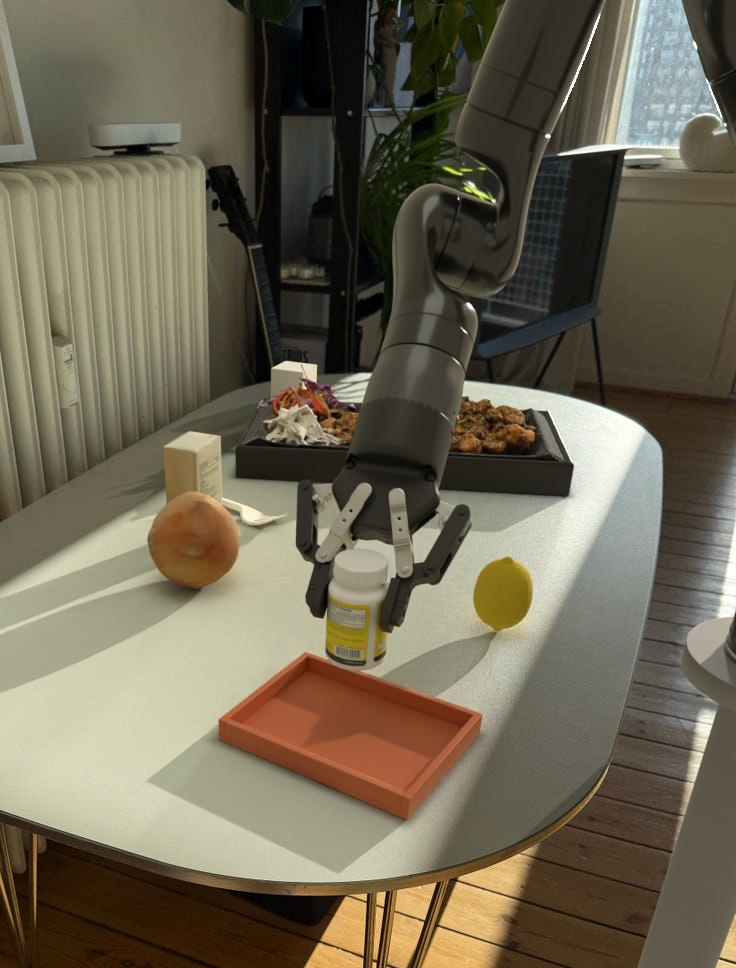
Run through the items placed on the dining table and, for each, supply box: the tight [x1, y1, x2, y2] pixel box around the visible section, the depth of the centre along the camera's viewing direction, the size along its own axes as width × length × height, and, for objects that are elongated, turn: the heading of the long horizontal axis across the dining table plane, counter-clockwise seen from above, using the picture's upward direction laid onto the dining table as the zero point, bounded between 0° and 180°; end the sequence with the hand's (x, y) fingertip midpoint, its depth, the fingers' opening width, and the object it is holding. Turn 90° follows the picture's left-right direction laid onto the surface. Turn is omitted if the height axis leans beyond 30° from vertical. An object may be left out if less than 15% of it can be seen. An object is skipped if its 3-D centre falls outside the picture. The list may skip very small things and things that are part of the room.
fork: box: [222, 496, 288, 526], centre depth 119 cm, size 3×20×2 cm, turn 44°
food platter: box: [234, 364, 575, 497], centre depth 135 cm, size 45×25×10 cm, turn 82°
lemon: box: [472, 555, 534, 632], centre depth 90 cm, size 6×6×8 cm
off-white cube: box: [270, 360, 318, 398], centre depth 161 cm, size 6×6×6 cm
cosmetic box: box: [163, 430, 223, 506], centre depth 108 cm, size 6×4×12 cm
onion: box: [146, 491, 241, 589], centre depth 99 cm, size 10×10×10 cm
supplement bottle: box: [324, 548, 390, 672], centre depth 71 cm, size 5×5×8 cm
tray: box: [217, 651, 483, 821], centre depth 76 cm, size 17×13×2 cm
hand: (350, 621), depth 69 cm, fingers closed on supplement bottle, 4 cm apart
